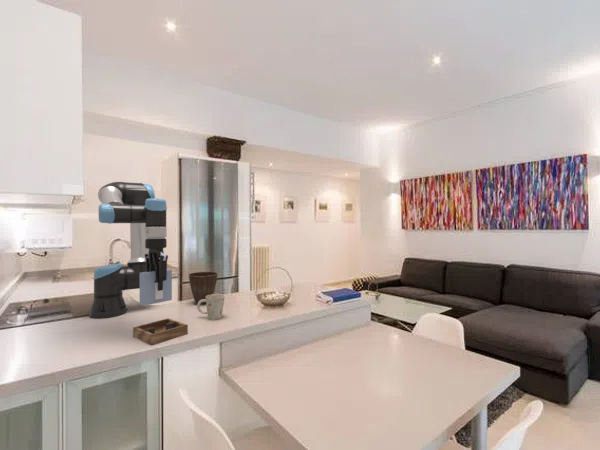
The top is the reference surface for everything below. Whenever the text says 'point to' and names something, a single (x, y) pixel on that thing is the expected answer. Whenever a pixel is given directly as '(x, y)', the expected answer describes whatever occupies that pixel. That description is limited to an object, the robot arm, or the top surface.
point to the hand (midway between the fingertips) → (156, 297)
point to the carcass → (160, 331)
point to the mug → (213, 306)
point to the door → (149, 288)
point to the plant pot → (202, 285)
